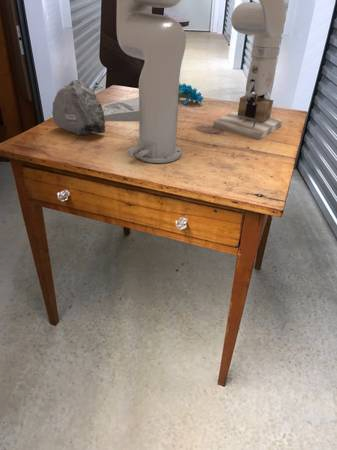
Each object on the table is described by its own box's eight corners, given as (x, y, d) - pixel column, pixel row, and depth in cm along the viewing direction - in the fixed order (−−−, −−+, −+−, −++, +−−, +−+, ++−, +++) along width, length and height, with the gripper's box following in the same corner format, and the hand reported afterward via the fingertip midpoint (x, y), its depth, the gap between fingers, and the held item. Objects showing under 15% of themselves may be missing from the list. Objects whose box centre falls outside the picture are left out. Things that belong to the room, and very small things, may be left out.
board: (259, 139, 106) (260, 133, 105) (213, 127, 113) (213, 120, 112) (281, 126, 116) (282, 120, 115) (237, 115, 124) (238, 109, 123)
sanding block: (262, 123, 112) (266, 103, 109) (237, 116, 116) (240, 97, 113) (269, 119, 115) (273, 100, 112) (244, 113, 120) (247, 94, 116)
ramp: (83, 119, 116) (82, 102, 113) (103, 106, 129) (102, 90, 126) (167, 130, 111) (167, 112, 108) (179, 115, 123) (180, 99, 120)
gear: (208, 100, 132) (194, 82, 124) (200, 114, 131) (186, 97, 124) (188, 97, 139) (173, 80, 132) (180, 110, 139) (165, 94, 132)
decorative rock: (108, 136, 104) (105, 82, 95) (92, 143, 99) (88, 86, 90) (67, 124, 111) (61, 72, 102) (51, 130, 106) (42, 76, 97)
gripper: (263, 58, 98) (252, 124, 108) (287, 51, 109) (275, 111, 119) (239, 54, 101) (230, 118, 112) (265, 48, 112) (254, 106, 123)
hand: (253, 114), depth 115 cm, fingers closed on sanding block, 5 cm apart
